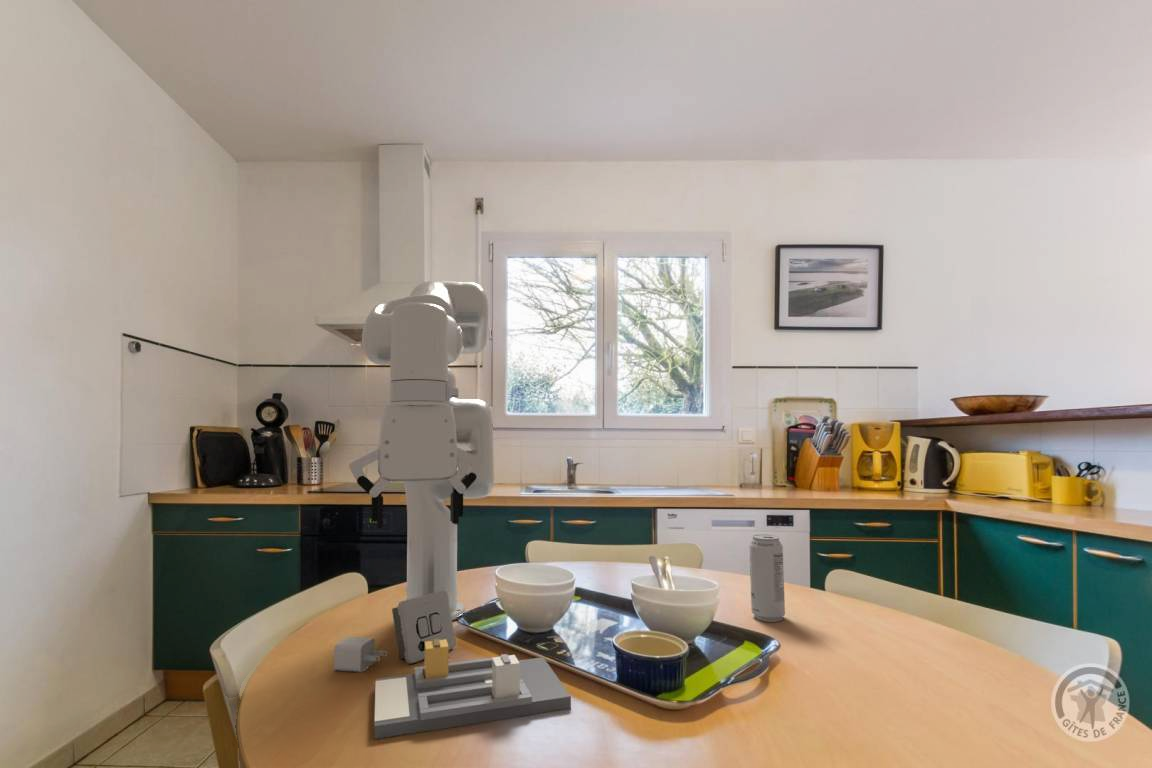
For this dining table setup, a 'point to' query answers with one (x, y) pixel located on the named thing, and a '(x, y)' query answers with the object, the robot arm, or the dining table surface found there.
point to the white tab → (505, 676)
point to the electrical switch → (422, 624)
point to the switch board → (462, 697)
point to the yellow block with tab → (436, 658)
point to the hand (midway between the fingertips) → (417, 525)
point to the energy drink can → (767, 578)
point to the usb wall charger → (355, 654)
